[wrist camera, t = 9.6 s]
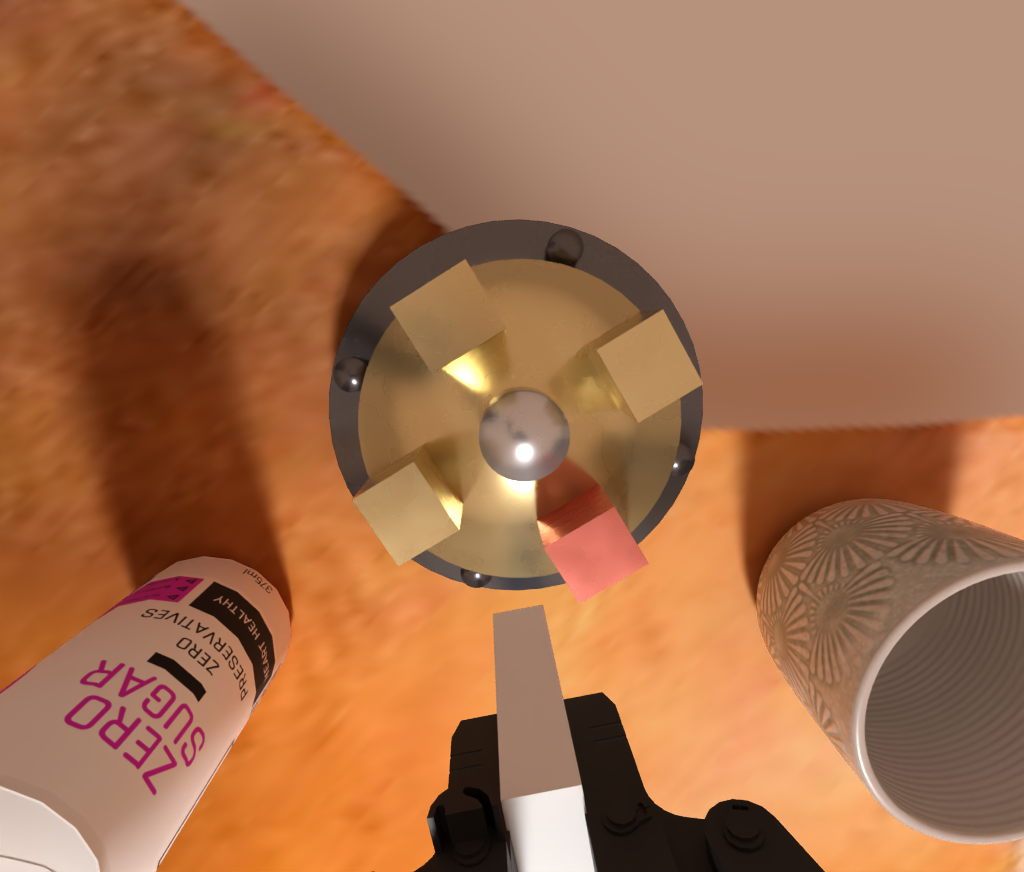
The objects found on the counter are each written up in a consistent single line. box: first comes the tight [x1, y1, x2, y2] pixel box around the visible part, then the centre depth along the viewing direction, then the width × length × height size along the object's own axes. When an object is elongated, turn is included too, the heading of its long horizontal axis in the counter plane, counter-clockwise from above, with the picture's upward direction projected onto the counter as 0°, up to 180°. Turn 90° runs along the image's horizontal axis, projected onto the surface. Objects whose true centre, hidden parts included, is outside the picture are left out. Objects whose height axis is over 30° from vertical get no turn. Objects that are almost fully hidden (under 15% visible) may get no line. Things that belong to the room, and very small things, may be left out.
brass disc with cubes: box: [352, 259, 703, 604], centre depth 24 cm, size 14×14×6 cm
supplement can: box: [0, 556, 292, 872], centre depth 24 cm, size 8×8×15 cm
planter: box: [756, 498, 1024, 844], centre depth 27 cm, size 12×12×11 cm
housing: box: [329, 220, 703, 590], centre depth 26 cm, size 18×18×8 cm
